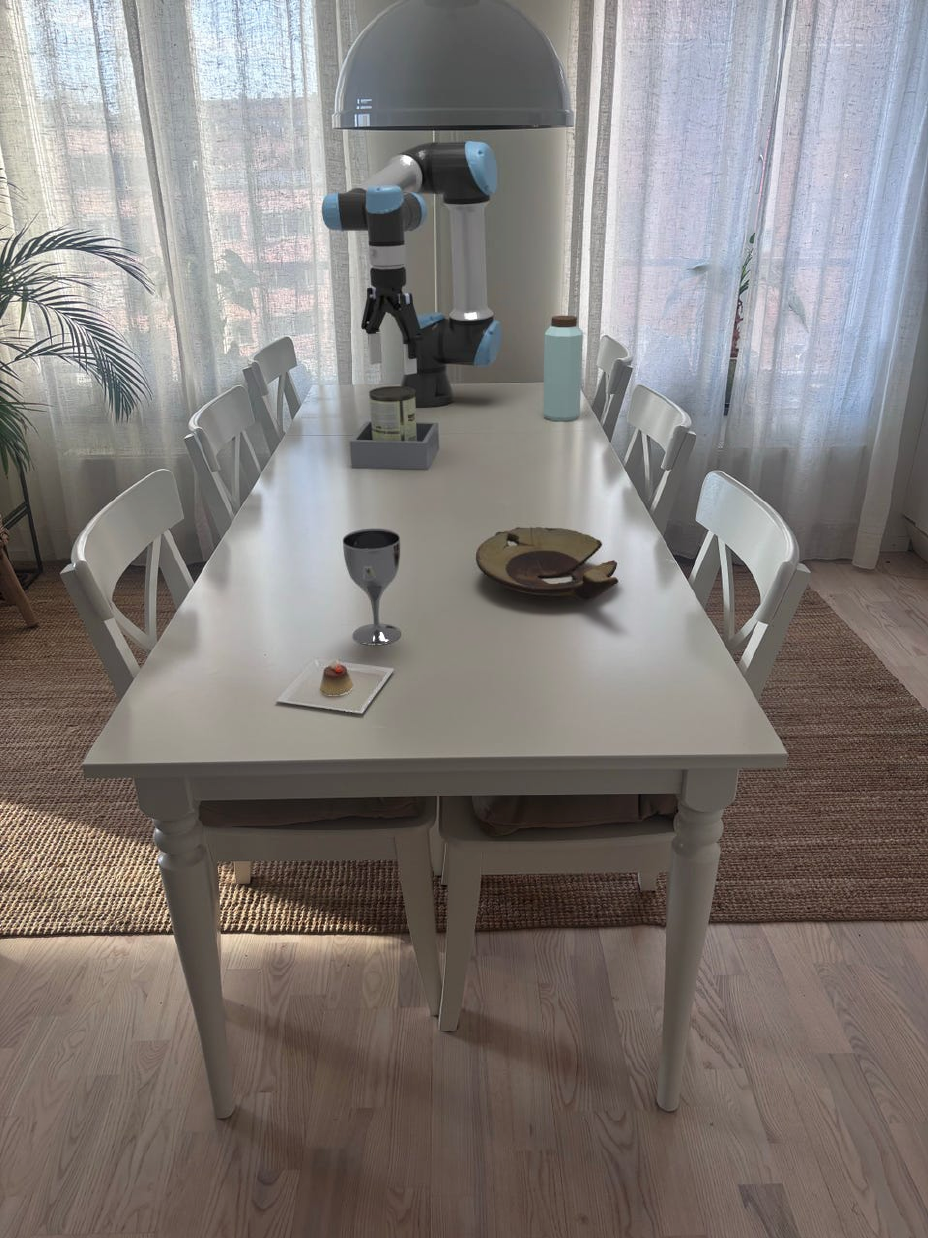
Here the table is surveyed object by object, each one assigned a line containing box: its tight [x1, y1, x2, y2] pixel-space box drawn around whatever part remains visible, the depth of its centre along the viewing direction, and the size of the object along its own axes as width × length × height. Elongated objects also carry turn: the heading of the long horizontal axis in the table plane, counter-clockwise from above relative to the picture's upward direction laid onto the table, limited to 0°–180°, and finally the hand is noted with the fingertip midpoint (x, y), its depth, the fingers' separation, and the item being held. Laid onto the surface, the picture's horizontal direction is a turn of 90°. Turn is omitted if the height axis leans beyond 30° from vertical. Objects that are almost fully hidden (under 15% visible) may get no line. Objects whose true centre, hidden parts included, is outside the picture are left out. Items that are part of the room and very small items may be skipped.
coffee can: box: [368, 385, 417, 442], centre depth 220 cm, size 10×10×14 cm
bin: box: [349, 420, 440, 471], centre depth 222 cm, size 17×17×6 cm
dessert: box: [275, 657, 395, 715], centre depth 128 cm, size 12×12×5 cm
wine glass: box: [342, 528, 402, 646], centre depth 140 cm, size 8×8×15 cm
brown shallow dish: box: [475, 526, 619, 601], centre depth 155 cm, size 22×30×8 cm
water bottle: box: [542, 315, 584, 422], centre depth 248 cm, size 10×10×25 cm
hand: (393, 368), depth 214 cm, fingers open, 13 cm apart
